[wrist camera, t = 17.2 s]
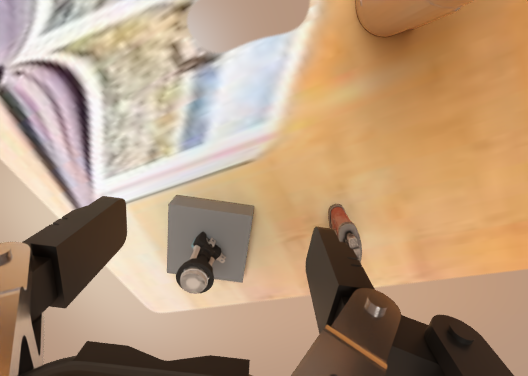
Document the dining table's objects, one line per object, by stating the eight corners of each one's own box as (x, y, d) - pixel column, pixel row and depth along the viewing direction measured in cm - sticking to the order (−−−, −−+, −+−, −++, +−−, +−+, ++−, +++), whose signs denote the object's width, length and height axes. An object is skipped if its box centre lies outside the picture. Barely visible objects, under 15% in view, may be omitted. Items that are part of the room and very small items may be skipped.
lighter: (325, 206, 47) (340, 235, 38) (344, 201, 47) (363, 230, 37) (332, 243, 50) (348, 278, 40) (350, 239, 49) (370, 274, 40)
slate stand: (253, 206, 47) (252, 216, 43) (244, 268, 52) (242, 282, 48) (176, 194, 46) (168, 204, 43) (174, 259, 51) (166, 272, 48)
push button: (235, 248, 46) (227, 289, 36) (214, 265, 47) (202, 309, 38) (206, 224, 44) (190, 260, 35) (186, 243, 45) (165, 283, 36)
